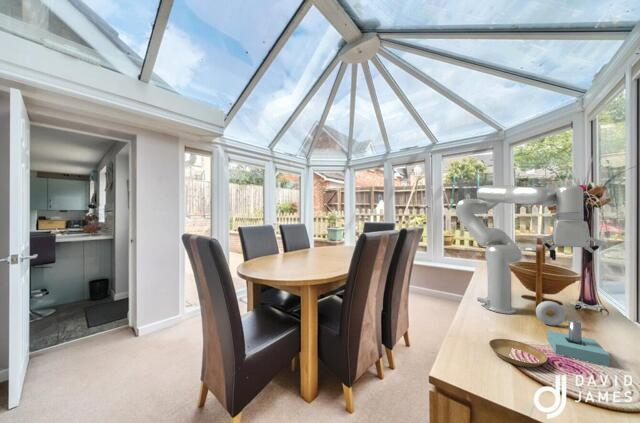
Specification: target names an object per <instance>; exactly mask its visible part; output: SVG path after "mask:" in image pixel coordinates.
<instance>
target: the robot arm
mask: <svg viewBox="0 0 640 423" xmlns="http://www.w3.org/2000/svg"><path fill="white" fill-rule="evenodd" d="M476 196H477V198H464V199H461V200H459V201H458V202H457V203H456V206H455V215H456V217H457V219H458V220H459V222H460V223H461V224H462V225H463V226H464V228H465V229H466V230H467V231H468V233H469V234H470V235H471V236H472V238H473V239H474V240H475V241H476V243H477V244H478V245H479V246H481V247H487V248H486V250H485V253H484V258H485V262H486V268H487V296H486V297H485V298H483V297H477V298H476V300H477V302H479V303H481V304H483V307H484V308H485V309H486V310H489V311H490V312H491V311H492V312H494V313H498V314H499V313H500V314H505V315H507V314H509V315H512V314H513V315H514V314H516V313H517V310H516V308H515V307H513V306H512V303H513V302H512V271H511V269H510V266H509V264H516V263H519V262H520V261H521V260H522V259H523V252H522V250H521V248H520V246H518V245H517V243H516V242H515V241H513V239H511V237H510V236H509V235H508V234H507V233H506V232H505V231H504V230H502V229H501V228H496V227H495V228H494V227H489V226H487V225H486V224H485V223H484V221H483V220H482V219H480V218H479V217H478V216H476V215H483V214H486V213H488V212H489V211H491V210H492V209H493V208H495V207H496V206H498V204H501V203H502V204H518V205H519V204H520V205H530V206H531V205H532V206H545V207H547V206H548V207H551V206H556V212H555V214H551V219H555V220H554V221H553V226H552V232H551V233H552V234H550V235H548V236H547V235H546V236H545V237H541V238H540V242H541V243H542V244H543V246H544V247H546V248H547V249H548V250H549V258H551V260H552V261H556V260H557V259H556V257H557V256H556V253H557V252H556V250H555V249H556V248H557V247H571V248H583V249H584V250H585V252H584V262H585V263H587V264H591V261H593V253H594V252H595V251H597V250H599V248H600V247H601V246H602V245H603V241H602V240H600V239H597V238H595V237H592V236H590V229H589V224H588V222H587V221H584V218H585V217H584V188H583V187H582V186H579V185H568V186H567V185H566V186H559V187H558V188H556V187H555V188H554V187H553V188H551V187H543V186H542V187H540V186H515V185H496V184H495V185H494V184H486V185H482V186H480V187H479V188H478V189H477V190H476ZM548 240H551V242H552V244H549V243H548ZM591 242H593V243H594V244H593V245H592V246H591Z"/></svg>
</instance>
